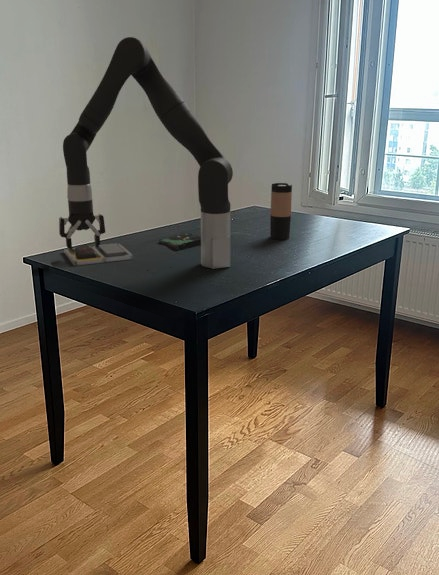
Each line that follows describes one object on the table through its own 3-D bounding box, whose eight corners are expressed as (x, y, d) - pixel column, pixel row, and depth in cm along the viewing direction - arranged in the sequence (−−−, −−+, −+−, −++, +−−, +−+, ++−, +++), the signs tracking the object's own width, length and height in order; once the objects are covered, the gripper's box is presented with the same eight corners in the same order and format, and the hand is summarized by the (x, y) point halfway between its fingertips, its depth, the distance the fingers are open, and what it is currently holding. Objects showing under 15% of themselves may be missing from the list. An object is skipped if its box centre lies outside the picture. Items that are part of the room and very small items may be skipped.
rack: (133, 261, 188) (133, 254, 188) (74, 268, 181) (73, 261, 180) (119, 249, 203) (119, 242, 202) (64, 255, 195) (63, 248, 195)
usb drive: (80, 262, 184) (80, 253, 183) (73, 252, 194) (72, 244, 194) (97, 260, 186) (96, 251, 185) (89, 251, 196) (88, 243, 196)
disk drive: (187, 239, 219) (158, 246, 208) (187, 232, 218) (158, 239, 207) (207, 244, 212) (178, 252, 202) (207, 237, 211) (178, 244, 201)
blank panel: (125, 257, 189) (125, 251, 189) (107, 259, 187) (106, 253, 186) (115, 248, 200) (115, 243, 199) (98, 250, 197) (97, 245, 197)
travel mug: (268, 239, 217) (269, 185, 211) (271, 234, 225) (273, 182, 218) (288, 240, 216) (290, 186, 209) (291, 235, 223) (293, 183, 216)
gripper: (59, 201, 178) (63, 253, 183) (105, 198, 183) (108, 248, 188) (55, 197, 184) (59, 247, 189) (99, 194, 190) (102, 243, 195)
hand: (83, 247), depth 189 cm, fingers open, 8 cm apart
